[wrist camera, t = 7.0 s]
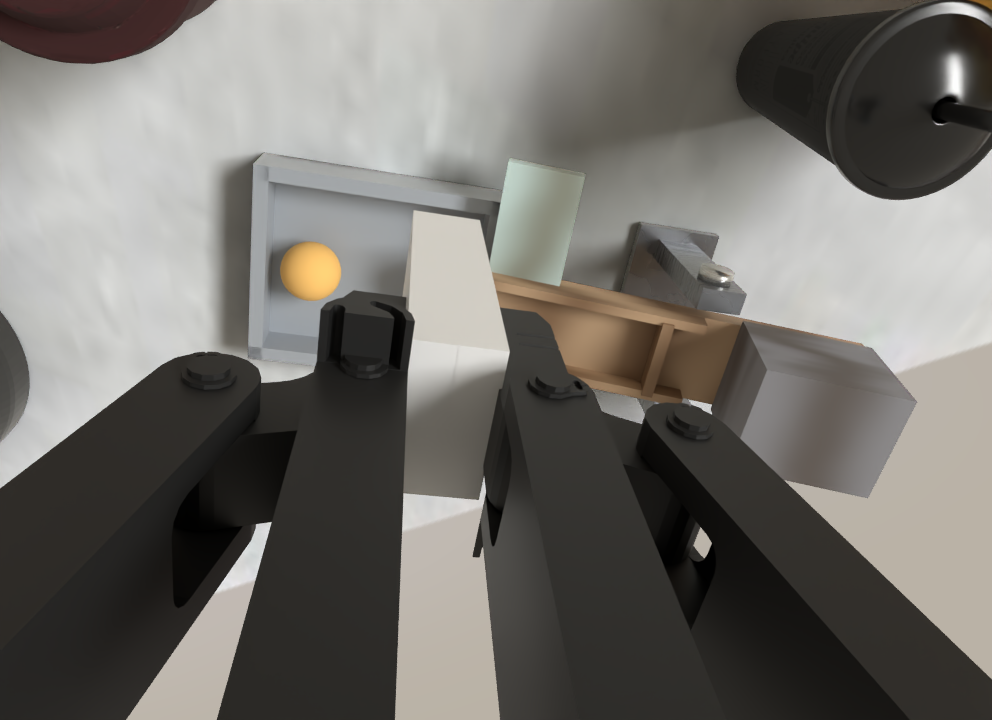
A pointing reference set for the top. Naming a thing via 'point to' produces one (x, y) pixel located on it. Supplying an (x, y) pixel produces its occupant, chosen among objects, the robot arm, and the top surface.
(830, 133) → the drinking cup
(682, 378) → the lever
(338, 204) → the dish
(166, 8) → the coffee cup
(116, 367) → the top surface
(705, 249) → the stand
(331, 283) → the ball
